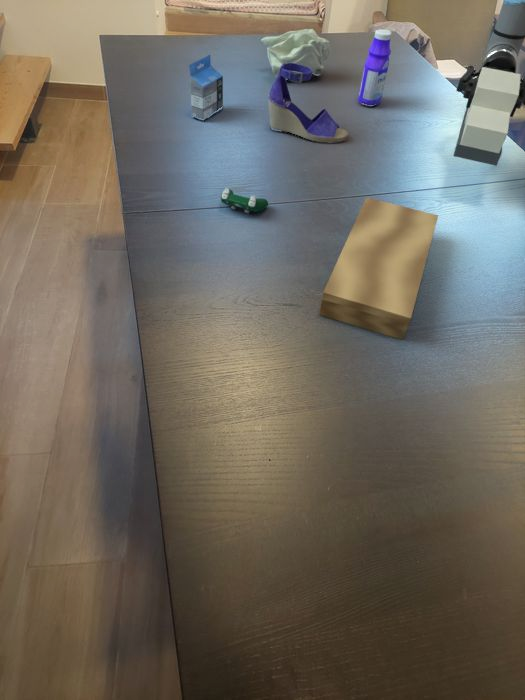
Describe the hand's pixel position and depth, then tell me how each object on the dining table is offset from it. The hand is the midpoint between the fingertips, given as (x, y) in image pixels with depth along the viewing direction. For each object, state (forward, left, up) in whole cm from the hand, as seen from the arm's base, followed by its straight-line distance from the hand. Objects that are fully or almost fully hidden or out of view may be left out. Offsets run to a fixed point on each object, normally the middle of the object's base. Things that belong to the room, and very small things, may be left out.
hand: (491, 105), depth 104 cm
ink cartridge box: (+65, -1, -16) cm, 67 cm away
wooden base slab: (+11, +42, -16) cm, 46 cm away
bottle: (+29, -28, -16) cm, 43 cm away
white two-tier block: (0, +1, -7) cm, 7 cm away
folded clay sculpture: (+53, -34, -16) cm, 65 cm away
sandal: (+39, -3, -16) cm, 42 cm away
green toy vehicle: (+41, +34, -16) cm, 55 cm away
